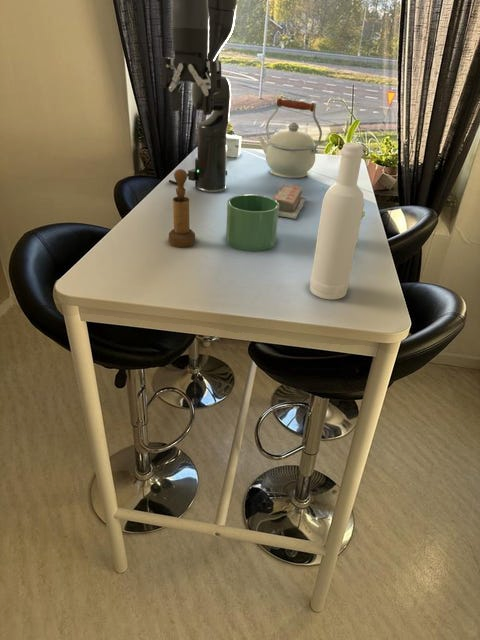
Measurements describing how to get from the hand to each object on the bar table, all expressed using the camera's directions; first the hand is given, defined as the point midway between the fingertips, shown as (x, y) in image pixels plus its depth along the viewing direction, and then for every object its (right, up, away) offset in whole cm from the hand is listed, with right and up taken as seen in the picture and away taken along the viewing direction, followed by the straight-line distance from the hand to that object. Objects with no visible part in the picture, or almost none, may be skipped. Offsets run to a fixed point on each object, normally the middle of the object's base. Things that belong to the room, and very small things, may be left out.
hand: (191, 112), depth 102 cm
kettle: (+28, +10, +72) cm, 78 cm away
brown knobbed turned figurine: (-4, -27, +13) cm, 30 cm away
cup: (+14, -26, +16) cm, 33 cm away
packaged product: (+25, -12, +38) cm, 47 cm away
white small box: (+8, +22, +88) cm, 92 cm away
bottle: (+30, -40, -4) cm, 50 cm away
